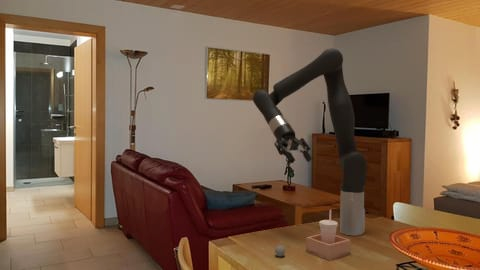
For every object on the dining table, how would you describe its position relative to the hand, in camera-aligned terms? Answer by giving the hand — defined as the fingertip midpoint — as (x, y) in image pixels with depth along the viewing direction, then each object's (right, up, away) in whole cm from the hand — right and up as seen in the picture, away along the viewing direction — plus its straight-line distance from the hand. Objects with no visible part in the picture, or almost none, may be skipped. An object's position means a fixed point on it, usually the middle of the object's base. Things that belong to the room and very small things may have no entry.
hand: (301, 161), depth 147 cm
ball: (-9, -31, -13) cm, 35 cm away
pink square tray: (+8, -31, -10) cm, 34 cm away
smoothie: (+8, -30, -9) cm, 33 cm away
